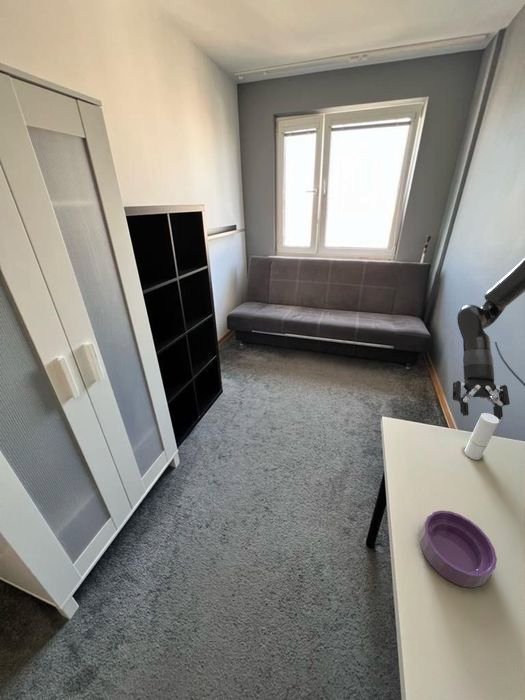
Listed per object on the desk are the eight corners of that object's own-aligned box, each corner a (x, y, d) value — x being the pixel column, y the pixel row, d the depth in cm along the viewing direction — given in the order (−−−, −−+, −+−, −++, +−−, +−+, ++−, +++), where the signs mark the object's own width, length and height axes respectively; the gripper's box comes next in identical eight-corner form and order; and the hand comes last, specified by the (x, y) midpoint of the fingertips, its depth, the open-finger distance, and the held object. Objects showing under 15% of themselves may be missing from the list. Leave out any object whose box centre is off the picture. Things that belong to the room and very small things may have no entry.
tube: (478, 462, 85) (496, 425, 77) (462, 453, 88) (478, 417, 80) (482, 454, 87) (501, 418, 80) (467, 446, 90) (483, 410, 83)
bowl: (428, 512, 72) (434, 499, 69) (491, 550, 64) (500, 537, 61) (411, 555, 64) (416, 542, 61) (481, 605, 56) (491, 593, 53)
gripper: (496, 370, 90) (500, 421, 86) (447, 366, 93) (449, 415, 89) (511, 364, 83) (517, 420, 79) (458, 360, 86) (461, 413, 82)
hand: (481, 417), depth 84 cm, fingers open, 8 cm apart
